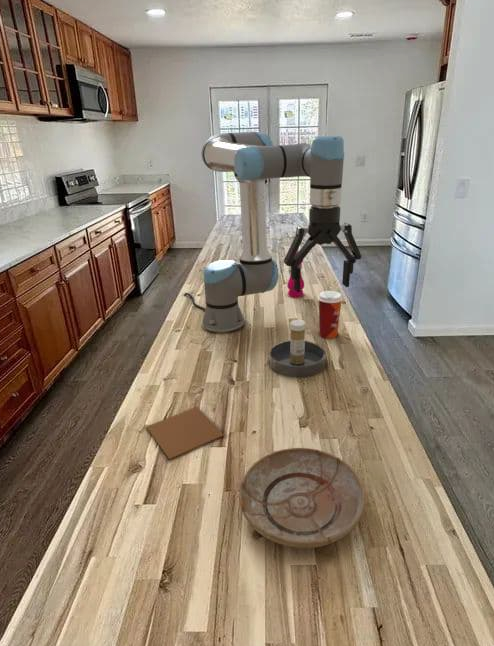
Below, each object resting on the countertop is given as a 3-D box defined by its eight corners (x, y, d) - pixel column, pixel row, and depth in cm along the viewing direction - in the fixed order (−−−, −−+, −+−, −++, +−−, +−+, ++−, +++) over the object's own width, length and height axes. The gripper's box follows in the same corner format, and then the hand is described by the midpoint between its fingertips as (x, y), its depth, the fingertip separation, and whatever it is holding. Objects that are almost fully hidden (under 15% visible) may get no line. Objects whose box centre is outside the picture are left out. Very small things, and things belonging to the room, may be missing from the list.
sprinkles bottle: (303, 357, 137) (304, 318, 131) (305, 365, 133) (306, 325, 127) (289, 358, 137) (289, 319, 131) (290, 365, 133) (290, 325, 127)
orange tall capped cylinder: (339, 340, 148) (342, 299, 141) (315, 339, 149) (316, 298, 143) (340, 330, 155) (343, 290, 148) (317, 328, 156) (319, 289, 150)
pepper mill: (307, 293, 189) (308, 248, 180) (299, 299, 183) (299, 252, 174) (292, 291, 192) (292, 246, 183) (284, 296, 187) (284, 250, 178)
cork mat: (146, 428, 107) (146, 426, 107) (197, 408, 114) (197, 406, 114) (169, 460, 97) (169, 458, 97) (224, 436, 104) (223, 434, 104)
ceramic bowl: (244, 464, 95) (243, 446, 93) (352, 465, 94) (354, 447, 92) (235, 561, 74) (233, 541, 72) (374, 563, 73) (377, 542, 71)
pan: (261, 355, 140) (261, 345, 138) (310, 346, 145) (310, 336, 143) (281, 381, 125) (281, 371, 124) (334, 370, 130) (335, 360, 129)
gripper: (279, 211, 100) (279, 297, 109) (379, 205, 105) (371, 287, 114) (271, 206, 107) (272, 287, 116) (365, 200, 112) (359, 279, 121)
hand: (321, 288), depth 115 cm, fingers open, 13 cm apart
